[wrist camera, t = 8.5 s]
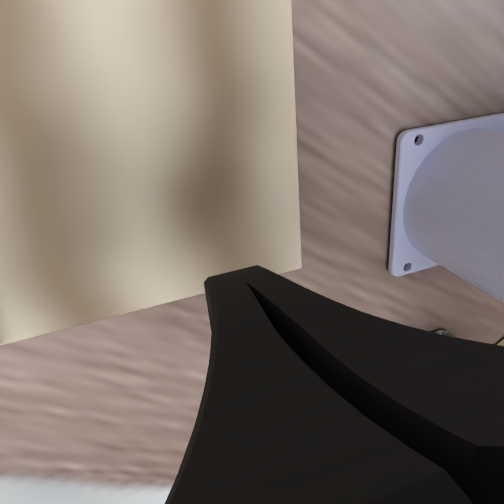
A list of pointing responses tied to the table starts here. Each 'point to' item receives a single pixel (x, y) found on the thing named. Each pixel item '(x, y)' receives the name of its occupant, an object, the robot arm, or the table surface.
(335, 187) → the table surface
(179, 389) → the table surface
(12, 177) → the stool seat
